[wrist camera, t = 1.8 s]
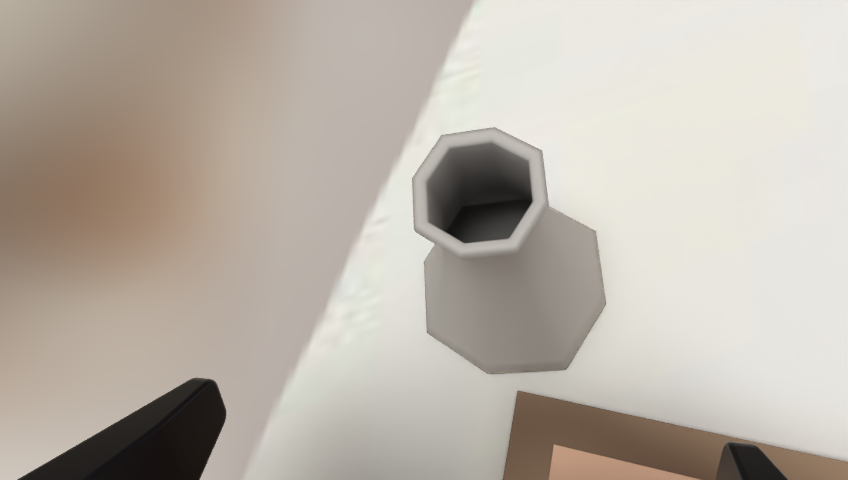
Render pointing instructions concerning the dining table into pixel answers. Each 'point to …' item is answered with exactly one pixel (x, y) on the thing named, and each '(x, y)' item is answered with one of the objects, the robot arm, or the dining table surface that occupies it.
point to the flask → (503, 256)
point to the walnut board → (628, 447)
